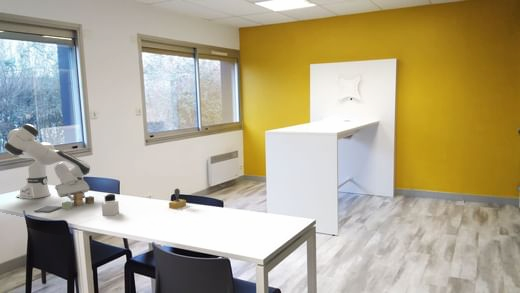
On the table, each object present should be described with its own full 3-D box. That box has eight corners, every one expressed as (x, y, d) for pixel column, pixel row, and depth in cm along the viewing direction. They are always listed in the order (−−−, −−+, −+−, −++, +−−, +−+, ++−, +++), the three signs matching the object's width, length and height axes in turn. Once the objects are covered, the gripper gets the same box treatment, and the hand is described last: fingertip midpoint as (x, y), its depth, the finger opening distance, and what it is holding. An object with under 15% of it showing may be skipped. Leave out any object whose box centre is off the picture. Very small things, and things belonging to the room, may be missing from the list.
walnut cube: (85, 203, 267) (84, 197, 267) (90, 201, 271) (90, 196, 270) (88, 204, 265) (88, 198, 265) (94, 202, 268) (93, 196, 268)
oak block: (74, 205, 261) (73, 193, 260) (79, 204, 264) (78, 192, 263) (77, 206, 259) (76, 194, 258) (83, 205, 262) (82, 193, 261)
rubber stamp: (175, 209, 248) (174, 190, 246) (168, 208, 251) (167, 189, 249) (186, 205, 256) (185, 187, 255) (179, 204, 259) (178, 186, 258)
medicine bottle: (119, 212, 243) (117, 193, 242) (113, 215, 236) (112, 196, 235) (108, 212, 244) (106, 193, 242) (102, 215, 237) (100, 196, 235)
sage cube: (62, 208, 254) (61, 202, 254) (68, 207, 258) (67, 201, 257) (65, 209, 252) (65, 203, 252) (71, 208, 255) (71, 202, 255)
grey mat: (34, 212, 248) (34, 210, 247) (47, 207, 258) (47, 205, 258) (49, 212, 245) (49, 211, 245) (61, 207, 256) (61, 206, 256)
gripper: (55, 182, 255) (64, 199, 250) (85, 177, 271) (94, 192, 267) (52, 188, 258) (61, 205, 253) (81, 182, 275) (91, 198, 270)
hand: (78, 198), depth 260 cm, fingers open, 6 cm apart
